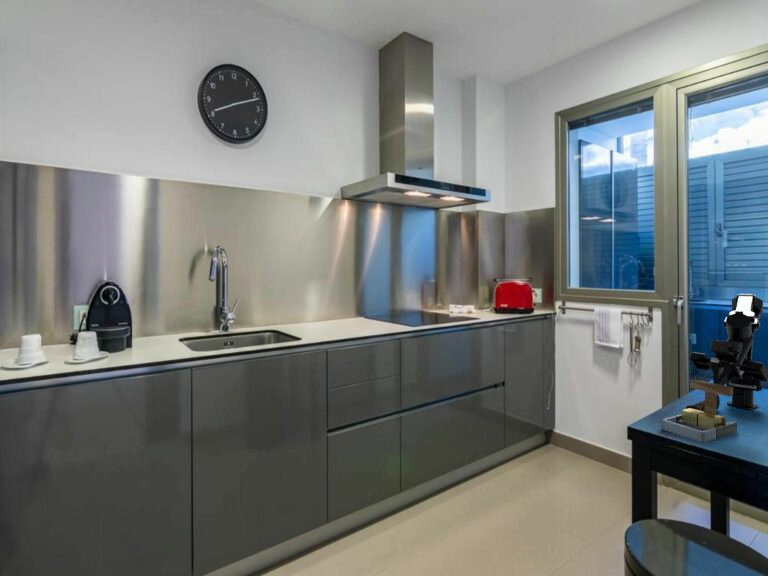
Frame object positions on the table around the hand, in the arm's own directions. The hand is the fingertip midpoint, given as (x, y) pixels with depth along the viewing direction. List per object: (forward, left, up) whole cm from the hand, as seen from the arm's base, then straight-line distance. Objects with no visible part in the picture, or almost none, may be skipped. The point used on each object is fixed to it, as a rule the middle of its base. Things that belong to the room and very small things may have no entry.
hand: (715, 387), depth 124 cm
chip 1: (+7, -2, -10) cm, 12 cm away
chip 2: (+7, +2, -10) cm, 12 cm away
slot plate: (+5, 0, -12) cm, 13 cm away
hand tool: (-9, -7, -11) cm, 16 cm away
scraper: (+3, 0, -9) cm, 10 cm away
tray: (+14, 0, -12) cm, 18 cm away
